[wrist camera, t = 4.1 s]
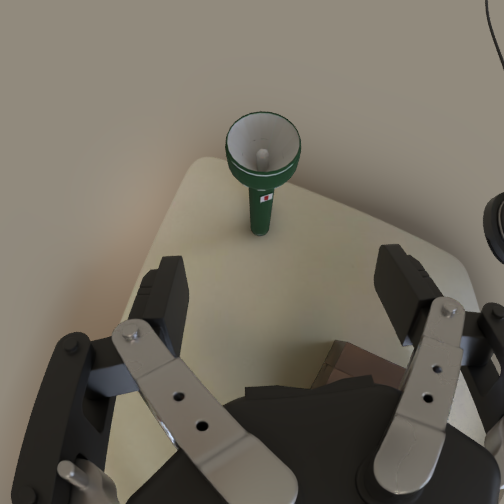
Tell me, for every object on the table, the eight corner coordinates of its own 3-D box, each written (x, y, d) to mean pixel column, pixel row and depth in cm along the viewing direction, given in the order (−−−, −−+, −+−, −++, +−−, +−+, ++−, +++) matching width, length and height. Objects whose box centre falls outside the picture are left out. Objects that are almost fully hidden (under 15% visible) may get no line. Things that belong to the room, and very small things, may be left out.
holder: (335, 339, 37) (346, 341, 32) (412, 374, 35) (431, 379, 31) (289, 425, 35) (294, 439, 30) (369, 455, 33) (383, 469, 28)
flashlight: (247, 254, 39) (238, 185, 20) (233, 216, 40) (214, 122, 21) (286, 240, 39) (315, 161, 20) (271, 203, 41) (284, 102, 21)
